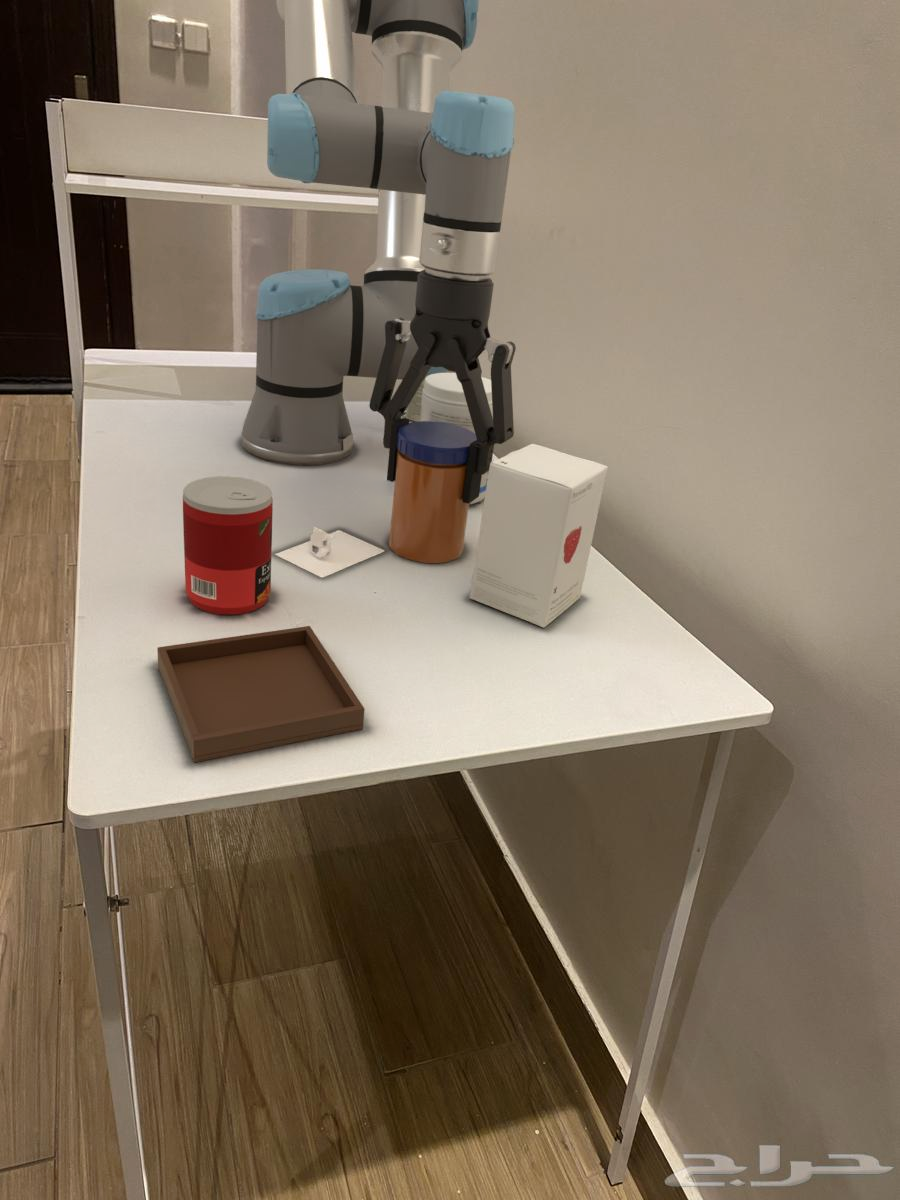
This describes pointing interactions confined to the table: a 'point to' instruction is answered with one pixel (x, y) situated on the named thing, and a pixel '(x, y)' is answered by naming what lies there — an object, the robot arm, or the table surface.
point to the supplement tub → (451, 407)
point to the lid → (435, 442)
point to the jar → (428, 510)
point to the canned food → (227, 544)
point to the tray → (256, 692)
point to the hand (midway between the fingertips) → (432, 488)
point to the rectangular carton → (536, 532)
